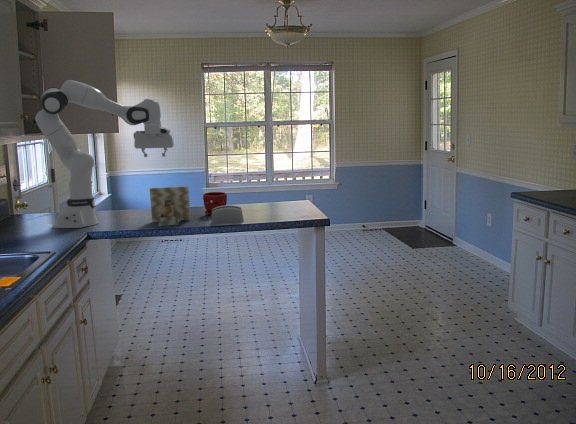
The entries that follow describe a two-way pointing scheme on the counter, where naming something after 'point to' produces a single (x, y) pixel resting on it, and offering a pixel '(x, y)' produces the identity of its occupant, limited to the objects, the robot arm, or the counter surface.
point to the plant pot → (214, 201)
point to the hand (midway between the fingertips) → (154, 156)
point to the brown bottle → (168, 208)
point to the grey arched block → (227, 214)
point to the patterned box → (178, 198)
